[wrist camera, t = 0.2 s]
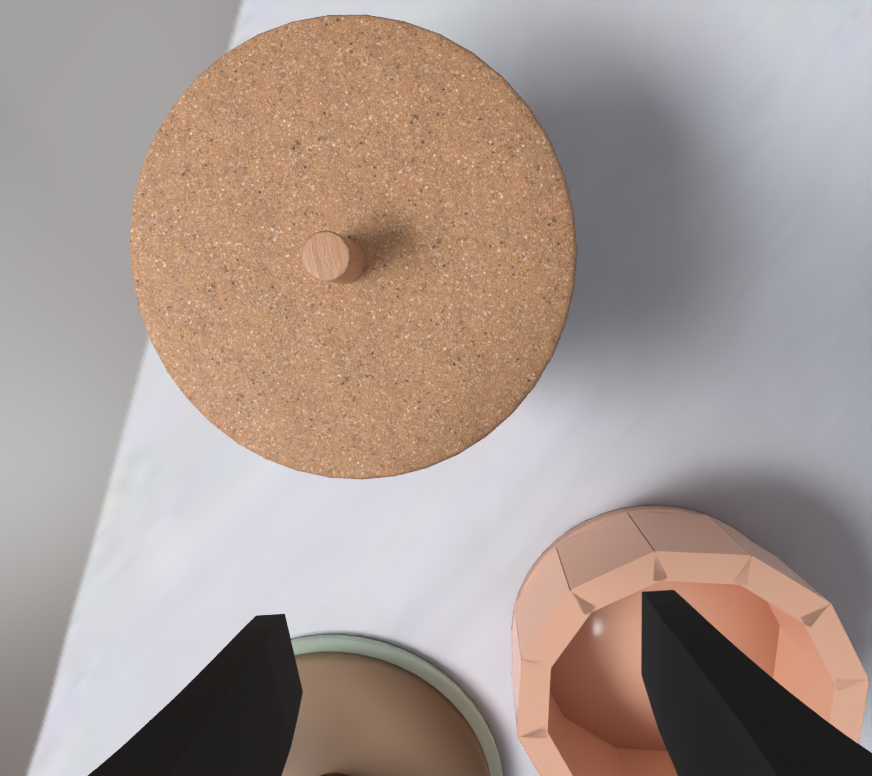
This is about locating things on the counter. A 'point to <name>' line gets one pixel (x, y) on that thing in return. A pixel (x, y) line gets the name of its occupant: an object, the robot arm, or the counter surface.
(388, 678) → the lid
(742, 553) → the bowl
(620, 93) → the counter surface
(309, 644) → the mat
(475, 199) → the lidded jar
